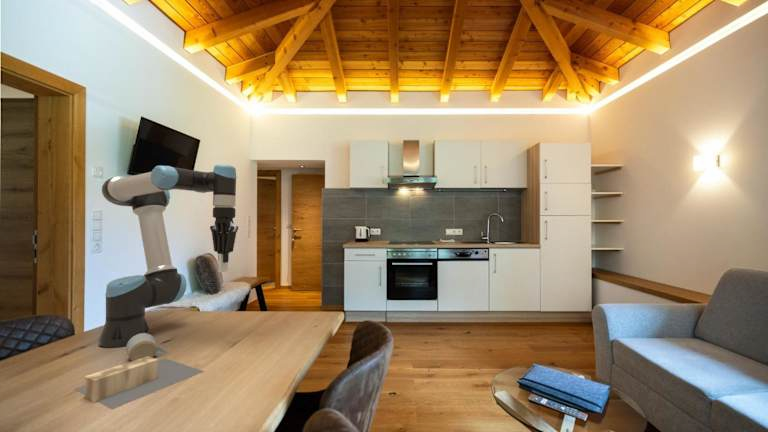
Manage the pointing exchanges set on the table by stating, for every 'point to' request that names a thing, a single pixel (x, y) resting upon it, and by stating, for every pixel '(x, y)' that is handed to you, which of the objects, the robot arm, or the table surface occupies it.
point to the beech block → (120, 378)
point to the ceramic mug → (143, 347)
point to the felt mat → (150, 383)
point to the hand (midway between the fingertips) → (223, 271)
